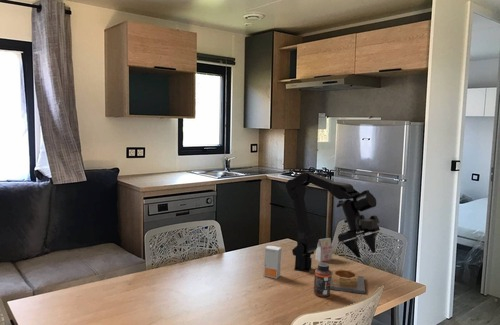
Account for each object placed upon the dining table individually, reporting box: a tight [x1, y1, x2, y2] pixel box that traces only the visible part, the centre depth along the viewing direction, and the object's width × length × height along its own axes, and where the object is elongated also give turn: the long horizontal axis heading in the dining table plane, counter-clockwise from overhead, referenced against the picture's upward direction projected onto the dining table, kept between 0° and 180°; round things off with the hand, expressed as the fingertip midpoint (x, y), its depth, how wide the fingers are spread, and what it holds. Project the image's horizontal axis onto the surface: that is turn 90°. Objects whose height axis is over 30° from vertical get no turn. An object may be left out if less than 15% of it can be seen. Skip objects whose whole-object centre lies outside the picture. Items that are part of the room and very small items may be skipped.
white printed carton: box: [314, 237, 333, 263], centre depth 186 cm, size 4×7×10 cm, turn 119°
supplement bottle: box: [313, 262, 331, 298], centre depth 148 cm, size 6×6×11 cm
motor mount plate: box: [330, 268, 366, 295], centre depth 159 cm, size 15×15×4 cm
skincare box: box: [262, 245, 282, 280], centre depth 164 cm, size 6×4×12 cm
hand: (366, 255), depth 150 cm, fingers open, 9 cm apart
